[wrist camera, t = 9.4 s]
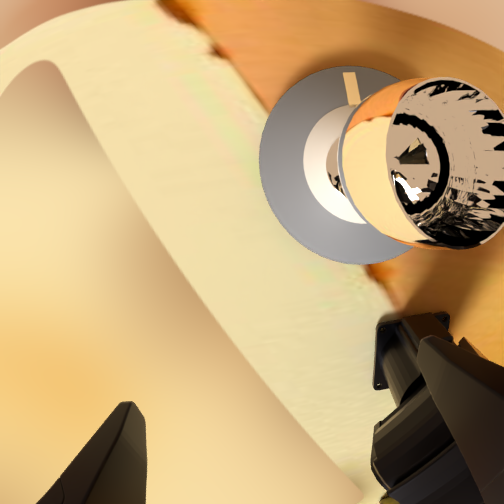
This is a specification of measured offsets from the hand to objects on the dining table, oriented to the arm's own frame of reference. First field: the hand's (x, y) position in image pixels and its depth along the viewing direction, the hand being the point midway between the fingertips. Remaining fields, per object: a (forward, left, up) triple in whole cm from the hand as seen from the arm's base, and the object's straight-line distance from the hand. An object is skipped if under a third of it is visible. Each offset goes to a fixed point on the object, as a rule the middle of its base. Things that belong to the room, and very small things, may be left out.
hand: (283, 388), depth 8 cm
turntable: (+6, -6, -14) cm, 16 cm away
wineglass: (+6, -5, -12) cm, 15 cm away
